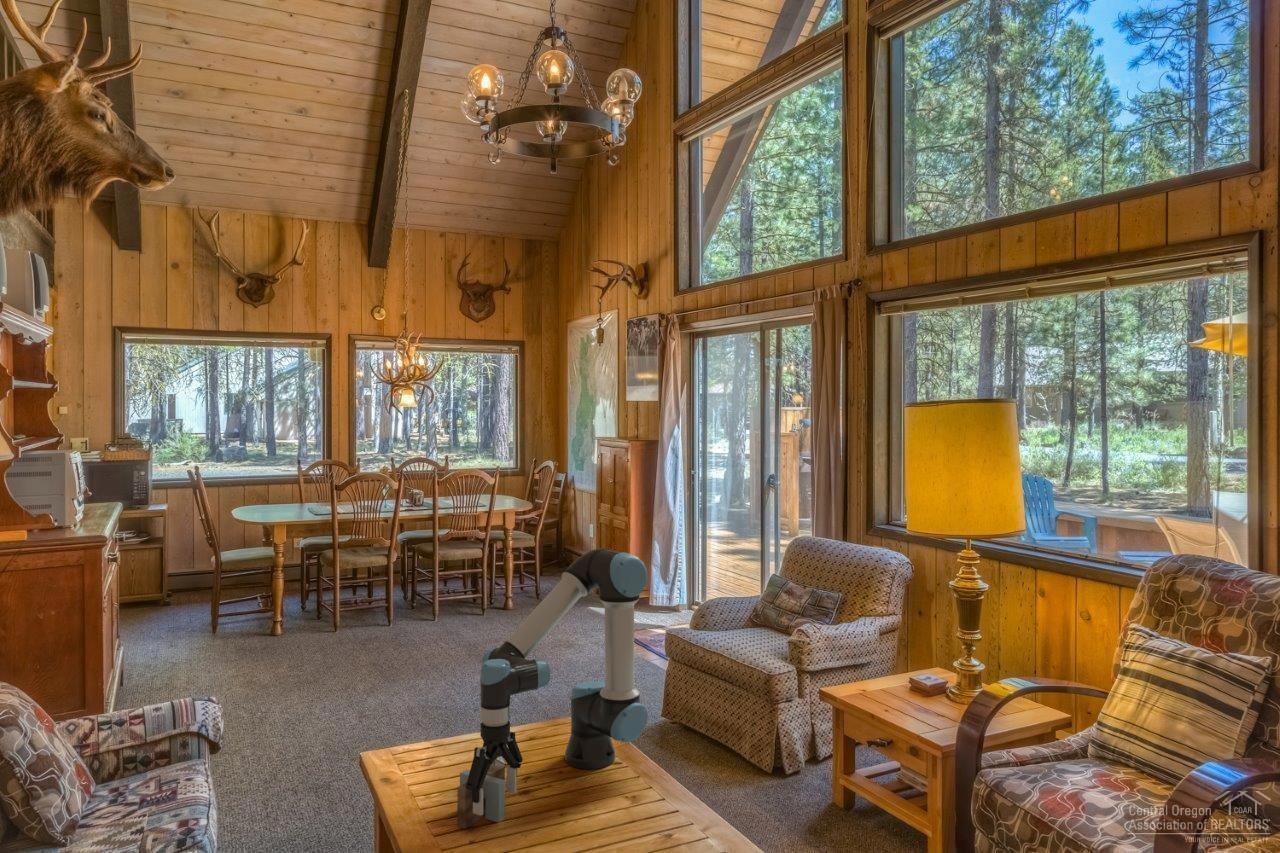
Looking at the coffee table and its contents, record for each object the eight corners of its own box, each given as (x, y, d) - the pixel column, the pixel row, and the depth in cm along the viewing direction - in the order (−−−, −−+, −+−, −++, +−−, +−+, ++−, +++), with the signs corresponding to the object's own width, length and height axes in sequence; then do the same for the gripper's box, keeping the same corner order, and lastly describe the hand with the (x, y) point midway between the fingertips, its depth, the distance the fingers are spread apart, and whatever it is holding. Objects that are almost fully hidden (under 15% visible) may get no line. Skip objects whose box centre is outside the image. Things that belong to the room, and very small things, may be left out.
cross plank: (465, 806, 224) (466, 769, 224) (504, 818, 218) (505, 780, 218) (459, 810, 222) (459, 773, 222) (498, 822, 216) (499, 783, 216)
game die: (496, 795, 239) (500, 776, 233) (470, 782, 241) (473, 762, 235) (511, 769, 246) (515, 750, 240) (485, 756, 248) (489, 737, 242)
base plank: (497, 801, 228) (497, 764, 227) (504, 803, 226) (504, 766, 226) (457, 826, 214) (457, 787, 213) (464, 828, 212) (465, 789, 212)
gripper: (513, 704, 230) (513, 781, 231) (451, 734, 208) (451, 819, 209) (535, 708, 227) (535, 787, 227) (474, 740, 205) (474, 827, 205)
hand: (495, 802), depth 218 cm, fingers open, 13 cm apart
